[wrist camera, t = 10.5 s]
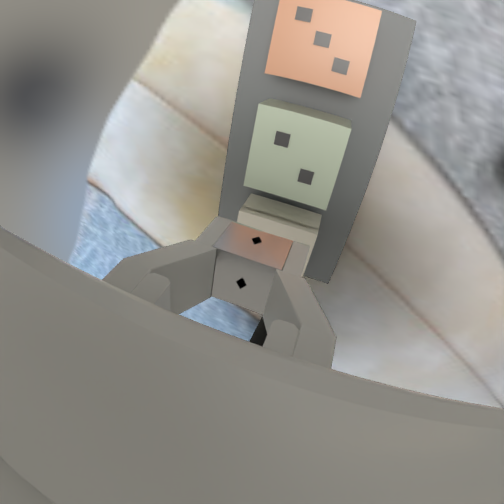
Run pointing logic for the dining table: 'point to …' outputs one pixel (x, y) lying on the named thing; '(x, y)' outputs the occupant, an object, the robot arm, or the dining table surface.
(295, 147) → the sage tile
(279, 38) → the terracotta tile
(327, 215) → the board
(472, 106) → the dining table surface
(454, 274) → the dining table surface
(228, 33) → the dining table surface
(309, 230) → the cream tile
